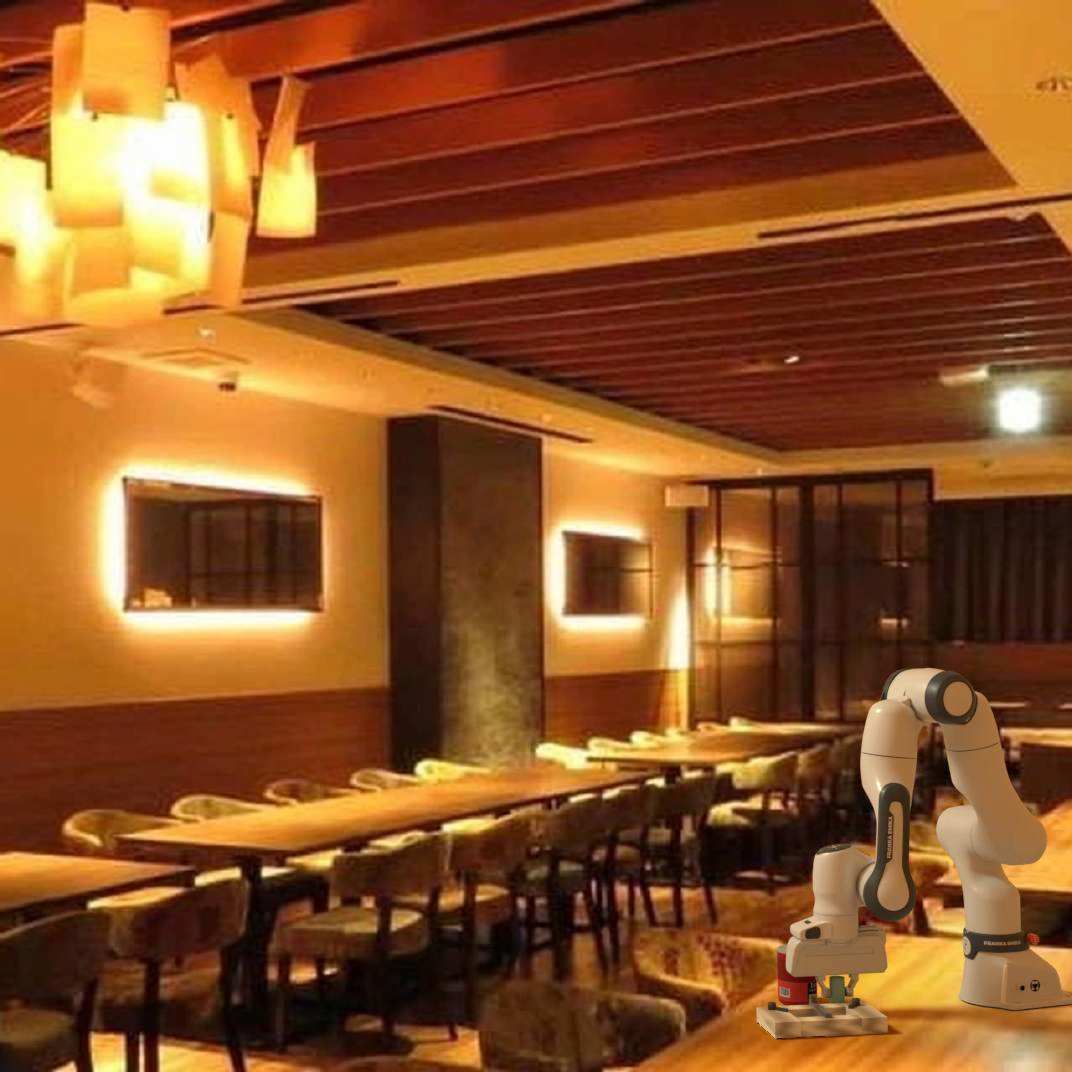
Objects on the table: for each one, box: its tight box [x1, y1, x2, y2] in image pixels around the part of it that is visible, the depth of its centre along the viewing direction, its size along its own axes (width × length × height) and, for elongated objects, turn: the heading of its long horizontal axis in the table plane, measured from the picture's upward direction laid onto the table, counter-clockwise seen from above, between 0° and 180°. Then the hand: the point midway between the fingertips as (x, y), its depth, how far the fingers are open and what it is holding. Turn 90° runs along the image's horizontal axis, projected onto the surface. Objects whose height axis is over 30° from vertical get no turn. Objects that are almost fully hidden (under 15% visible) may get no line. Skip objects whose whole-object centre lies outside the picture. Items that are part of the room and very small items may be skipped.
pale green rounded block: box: [828, 975, 846, 1004], centre depth 311 cm, size 3×3×7 cm
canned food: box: [776, 944, 818, 1006], centre depth 320 cm, size 8×8×11 cm
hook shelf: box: [756, 994, 889, 1040], centre depth 299 cm, size 22×12×5 cm, turn 99°
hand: (837, 997), depth 311 cm, fingers open, 3 cm apart
